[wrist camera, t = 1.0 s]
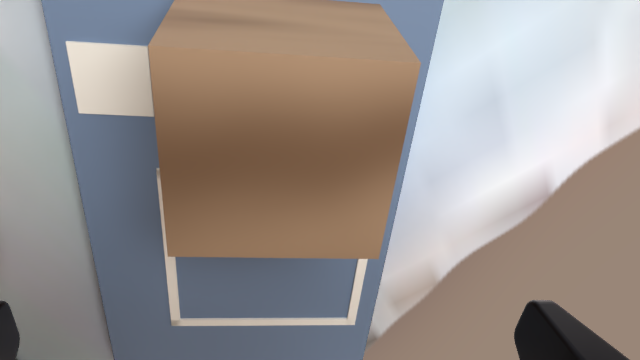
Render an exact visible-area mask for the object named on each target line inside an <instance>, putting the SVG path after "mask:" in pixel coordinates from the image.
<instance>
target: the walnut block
mask: <svg viewBox="0 0 640 360" xmlns="http://www.w3.org/2000/svg"><path fill="white" fill-rule="evenodd" d="M148 52H149V62H150V73H151V83H152V94H153V105H154V115H155V126H156V137H157V147H158V158H159V169H160V179H161V190H162V200H163V211H164V222H165V232H166V243H167V254H168V257H240V258H329V259H379V255H380V251H381V246H382V241H383V237H384V232H385V227H386V223H387V218H388V214H389V209H390V204H391V200H392V195H393V190H394V186H395V181H396V177H397V172H398V167H399V163H400V158H401V153H402V149H403V144H404V140H405V135H406V130H407V126H408V121H409V116H410V112H411V107H412V103H413V98H414V93H415V89H416V84H417V80H418V75H419V70H420V66H421V62H420V61H419V59H418V58H417V56H416V55H415V53H414V52H413V51H412V49H411V48H410V46H409V45H408V43H407V42H406V41H405V39H404V38H403V36H402V35H401V34H400V32H399V31H398V29H397V28H396V26H395V25H394V24H393V22H392V21H391V19H390V18H389V16H388V15H387V14H386V12H385V11H384V9H383V8H382V6H381V5H380V4H371V3H359V2H346V1H333V0H174V2H173V3H172V5H171V7H170V9H169V10H168V12H167V14H166V15H165V17H164V19H163V21H162V22H161V24H160V26H159V27H158V29H157V31H156V33H155V34H154V36H153V38H152V40H151V41H150V43H149V45H148Z"/></svg>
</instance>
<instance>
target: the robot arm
mask: <svg viewBox="0 0 640 360" xmlns="http://www.w3.org/2000/svg"><path fill="white" fill-rule="evenodd" d="M514 339H515V344H516V348H517V351H518V355H519V358H520V360H629V359H628V358H627V357H626V356H624V355H623V354H622V353H620V352H619V351H618V350H616V349H615V348H614V347H612V346H611V345H610V344H609V343H607V342H606V341H605V340H603V339H602V338H601V337H599V336H598V335H597V334H595V333H594V332H593V331H592V330H590V329H589V328H588V327H586V326H585V325H584V324H582V323H581V322H580V321H578V320H577V319H576V318H575V317H573V316H572V315H571V314H569V313H568V312H567V311H565V310H564V309H563V308H562V307H560V306H559V305H558V304H556V303H554V302H553V301H550V300H532V301H530V302H529V303H527V305H526V306H525V309H524V311H523V313H522V315H521V317H520V319H519V321H518V324H517V326H516V328H515V333H514ZM19 340H20V338H19V332H18V329H17V326H16V323H15V320H14V317H13V315H12V312H11V309H10V306H9V304H8V303H6V302H5V301H0V360H16V359H15V358H16V355H17V351H18V348H19Z"/></svg>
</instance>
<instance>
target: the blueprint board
mask: <svg viewBox="0 0 640 360" xmlns="http://www.w3.org/2000/svg"><path fill="white" fill-rule="evenodd" d="M333 1H346V2H359V3H371V4H380V5H381V6H382V8H383V9H384V11H385V12H386V14H387V15H388V16H389V18H390V19H391V21H392V22H393V24H394V25H395V26H396V28H397V29H398V31H399V32H400V34H401V35H402V36H403V38H404V39H405V41H406V42H407V43H408V45H409V46H410V48H411V49H412V51H413V52H414V53H415V55H416V56H417V58H418V59H419V61H420V62H421V66H420V70H419V75H418V80H417V84H416V89H415V93H414V98H413V103H412V107H411V112H410V116H409V121H408V126H407V130H406V135H405V140H404V144H403V149H402V153H401V158H400V163H399V167H398V172H397V177H396V181H395V186H394V190H393V195H392V200H391V204H390V209H389V214H388V218H387V223H386V227H385V232H384V237H383V241H382V246H381V251H380V255H379V259H329V258H240V257H168V254H167V243H166V232H165V222H164V211H163V200H162V190H161V179H160V169H159V158H158V147H157V137H156V126H155V115H154V105H153V94H152V83H151V73H150V62H149V52H148V45H149V43H150V41H151V40H152V38H153V36H154V34H155V33H156V31H157V29H158V27H159V26H160V24H161V22H162V21H163V19H164V17H165V15H166V14H167V12H168V10H169V9H170V7H171V5H172V3H173V2H174V0H41V2H42V7H43V12H44V16H45V21H46V26H47V31H48V36H49V41H50V46H51V51H52V56H53V61H54V66H55V71H56V75H57V80H58V85H59V90H60V95H61V100H62V105H63V110H64V115H65V120H66V125H67V130H68V134H69V139H70V144H71V149H72V154H73V159H74V164H75V169H76V174H77V179H78V184H79V189H80V193H81V198H82V203H83V208H84V213H85V218H86V223H87V228H88V233H89V238H90V243H91V248H92V252H93V257H94V262H95V267H96V272H97V277H98V282H99V287H100V292H101V297H102V302H103V307H104V311H105V316H106V321H107V326H108V331H109V336H110V341H111V346H112V351H113V356H114V360H363V356H364V351H365V347H366V342H367V338H368V333H369V329H370V325H371V320H372V316H373V311H374V307H375V303H376V298H377V294H378V289H379V285H380V280H381V276H382V272H383V267H384V263H385V258H386V254H387V249H388V245H389V241H390V236H391V232H392V227H393V223H394V219H395V214H396V210H397V205H398V201H399V196H400V192H401V188H402V183H403V179H404V174H405V170H406V165H407V161H408V157H409V152H410V148H411V143H412V139H413V135H414V130H415V126H416V121H417V117H418V112H419V108H420V104H421V99H422V95H423V90H424V86H425V81H426V77H427V73H428V68H429V64H430V59H431V55H432V51H433V46H434V42H435V37H436V33H437V28H438V24H439V20H440V15H441V11H442V6H443V2H444V0H333Z"/></svg>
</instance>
